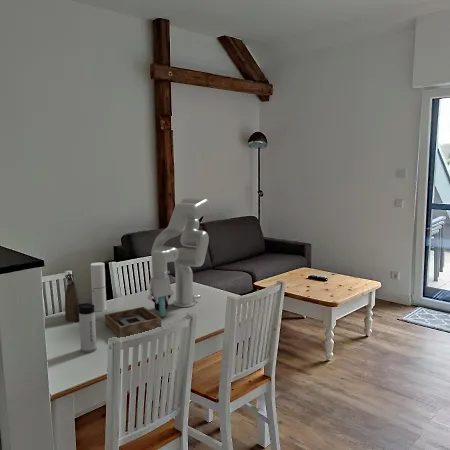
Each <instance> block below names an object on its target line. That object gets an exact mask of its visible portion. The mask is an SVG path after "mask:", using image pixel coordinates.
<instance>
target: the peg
mask: <svg viewBox="0 0 450 450" xmlns="http://www.w3.org/2000/svg"><path fill="white" fill-rule="evenodd" d="M158 303H159V311H157V316H159V317H160V318H162V317H165V316H166V313H167V312H166V309H165V296H163V297H159V298H158Z"/></svg>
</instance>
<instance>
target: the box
mask: <svg viewBox="0 0 450 450" xmlns="http://www.w3.org/2000/svg"><path fill="white" fill-rule="evenodd" d="M137 315H139V316H141V317H142V318H143V319H145V320H146V321H143V322H138V323H134V324H129V325H125V326H121V325H120V324H118V319H123V318H127V317H132V316H137ZM104 325H105V328H107V330H108V331H110V332H111V333H112V334H113V335H114V336H115V337H117V338H118V337H119V338H120V337H126V336H130V335H134V334H138V333H142V332H145V331H149V330H152V329H155V328H157V327H161V328H162V317H159V316H158V314H156V313H154V312H152V311H151V310H149V309H148V308H146V307H145V306H141V307H136V308H135V307H134V308H131V309H125V310H121V311H116V312H111V313H106V314H104ZM119 338H118V339H119Z"/></svg>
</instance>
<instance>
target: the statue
mask: <svg viewBox="0 0 450 450" xmlns="http://www.w3.org/2000/svg"><path fill="white" fill-rule="evenodd" d="M64 278H65V279H66V283H67V284H66V289H65V297H64V315H65V316H64V317H65V320H66V321H67V322H69V323H70V322H71V323H80V322H79V306H78V305H79V304H80V299H79V294H78V291H77V290H78V289H77V287H76V284H75V281H74V280H73V279H74V274H71V273H70V271H68V272H67V274H65V275H64Z"/></svg>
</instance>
